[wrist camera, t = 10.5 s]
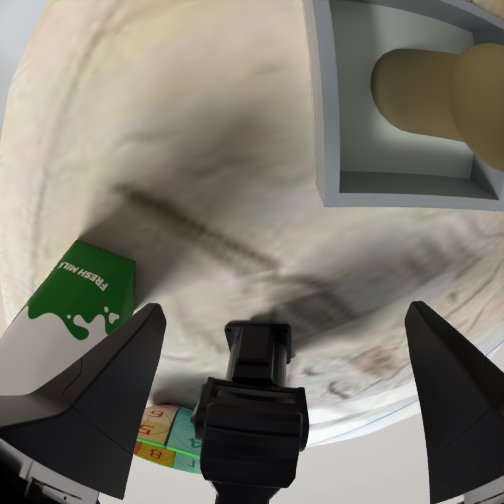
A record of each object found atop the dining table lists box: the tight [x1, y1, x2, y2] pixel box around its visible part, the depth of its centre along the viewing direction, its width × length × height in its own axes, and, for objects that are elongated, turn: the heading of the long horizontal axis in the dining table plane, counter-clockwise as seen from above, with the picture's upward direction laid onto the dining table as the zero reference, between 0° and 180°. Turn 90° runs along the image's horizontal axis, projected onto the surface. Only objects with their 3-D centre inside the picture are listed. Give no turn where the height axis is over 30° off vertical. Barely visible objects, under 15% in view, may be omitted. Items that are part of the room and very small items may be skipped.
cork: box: [370, 43, 504, 172], centre depth 9 cm, size 6×6×11 cm
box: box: [302, 0, 504, 212], centre depth 12 cm, size 14×14×4 cm
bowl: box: [133, 405, 202, 474], centre depth 39 cm, size 22×22×10 cm
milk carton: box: [0, 240, 135, 395], centre depth 17 cm, size 9×9×20 cm
